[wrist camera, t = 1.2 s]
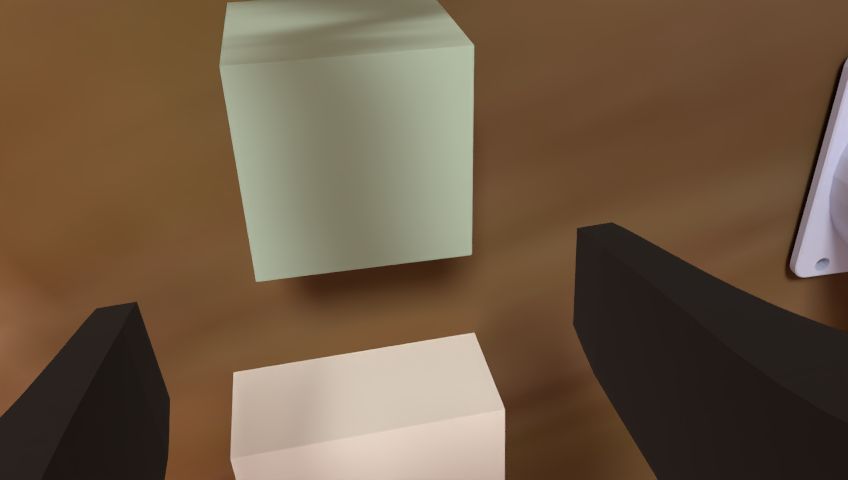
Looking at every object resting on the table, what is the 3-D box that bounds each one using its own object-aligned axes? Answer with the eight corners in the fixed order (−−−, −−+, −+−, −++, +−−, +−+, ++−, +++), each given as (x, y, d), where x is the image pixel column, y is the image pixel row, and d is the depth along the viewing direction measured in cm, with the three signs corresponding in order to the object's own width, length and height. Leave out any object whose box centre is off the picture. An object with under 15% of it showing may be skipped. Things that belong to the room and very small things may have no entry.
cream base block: (472, 327, 26) (504, 409, 22) (476, 486, 30) (504, 575, 27) (233, 366, 25) (230, 459, 21) (273, 525, 29) (275, 624, 25)
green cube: (426, -13, 19) (473, 45, 15) (430, 164, 22) (471, 255, 18) (227, 1, 19) (219, 66, 14) (255, 182, 21) (256, 282, 17)
